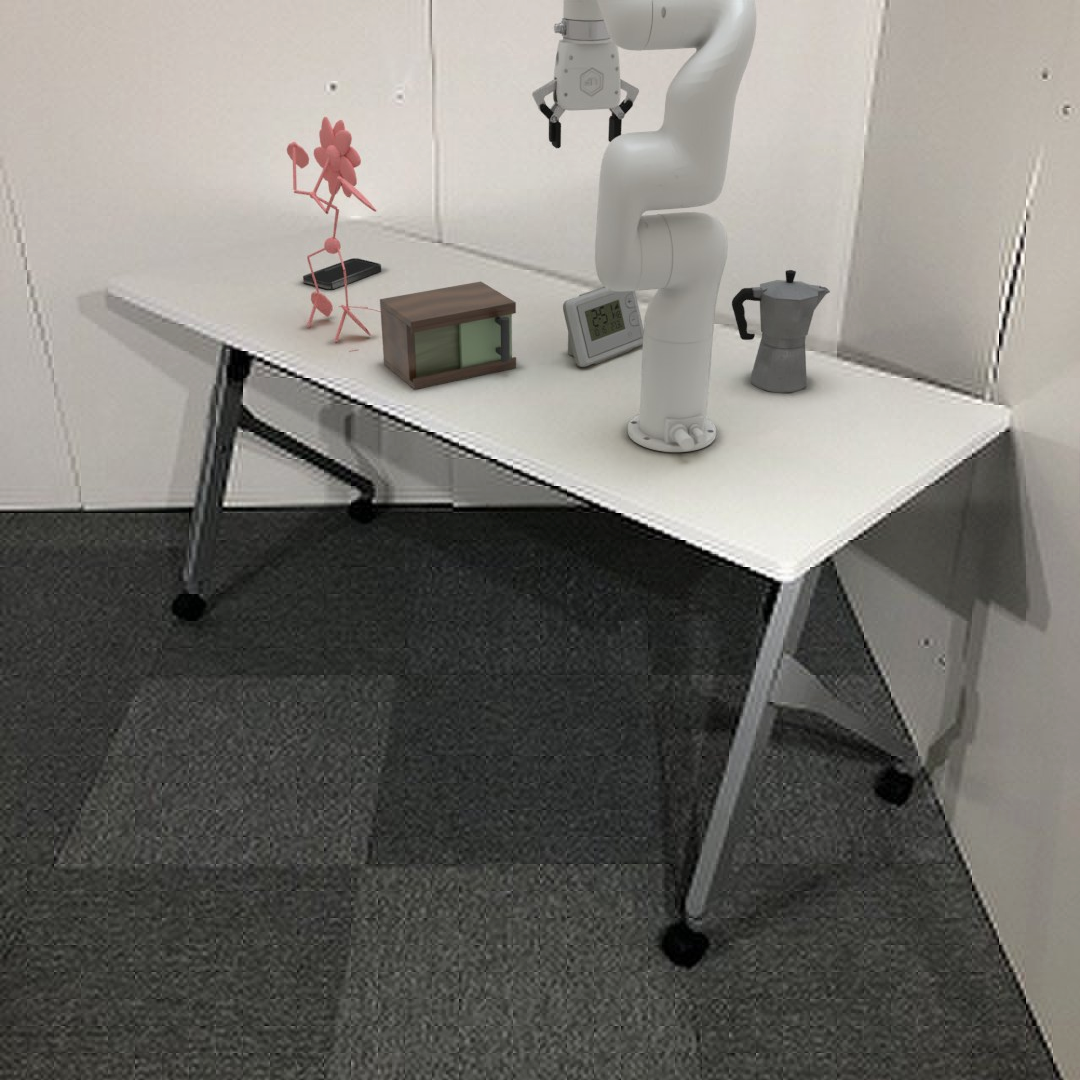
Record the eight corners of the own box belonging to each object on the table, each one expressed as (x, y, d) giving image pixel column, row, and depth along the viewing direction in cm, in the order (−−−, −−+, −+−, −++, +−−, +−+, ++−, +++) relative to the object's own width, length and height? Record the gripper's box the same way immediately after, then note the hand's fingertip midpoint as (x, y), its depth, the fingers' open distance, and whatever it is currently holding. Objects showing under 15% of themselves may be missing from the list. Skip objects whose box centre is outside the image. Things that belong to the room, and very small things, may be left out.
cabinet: (516, 367, 193) (515, 302, 188) (414, 389, 185) (411, 321, 180) (482, 344, 202) (480, 281, 196) (383, 364, 194) (379, 299, 189)
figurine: (357, 358, 196) (340, 138, 179) (279, 316, 213) (257, 111, 196) (434, 337, 205) (425, 125, 187) (353, 298, 222) (338, 100, 204)
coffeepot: (806, 367, 194) (820, 258, 185) (829, 390, 186) (844, 277, 177) (715, 374, 191) (724, 263, 182) (734, 397, 183) (745, 283, 174)
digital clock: (578, 372, 192) (579, 308, 186) (547, 354, 198) (547, 292, 193) (658, 351, 200) (661, 289, 194) (625, 335, 206) (627, 275, 201)
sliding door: (521, 366, 190) (521, 315, 186) (471, 377, 187) (470, 325, 182) (509, 357, 193) (509, 308, 189) (460, 368, 190) (458, 317, 185)
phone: (383, 264, 235) (329, 284, 225) (383, 270, 236) (330, 290, 225) (353, 257, 239) (299, 276, 229) (354, 262, 240) (300, 282, 229)
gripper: (539, 36, 180) (538, 153, 189) (648, 32, 184) (643, 147, 192) (527, 29, 186) (527, 142, 195) (632, 25, 190) (628, 137, 199)
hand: (584, 144), depth 194 cm, fingers open, 9 cm apart
